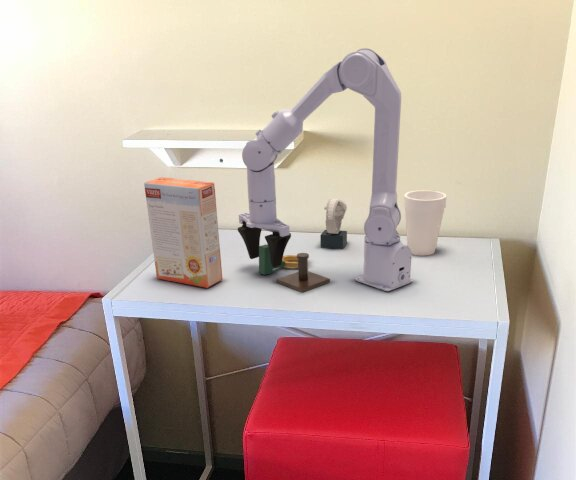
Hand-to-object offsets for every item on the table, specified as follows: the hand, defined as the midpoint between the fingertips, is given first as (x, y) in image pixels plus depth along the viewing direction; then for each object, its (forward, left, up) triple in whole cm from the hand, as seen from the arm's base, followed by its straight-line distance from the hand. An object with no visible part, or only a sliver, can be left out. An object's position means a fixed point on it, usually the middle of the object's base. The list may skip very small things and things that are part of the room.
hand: (265, 261), depth 144 cm
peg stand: (-10, -2, -3) cm, 11 cm away
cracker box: (+9, +14, -3) cm, 17 cm away
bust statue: (+3, -24, -3) cm, 24 cm away
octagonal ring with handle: (0, -5, -3) cm, 6 cm away
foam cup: (-15, -35, -3) cm, 38 cm away
